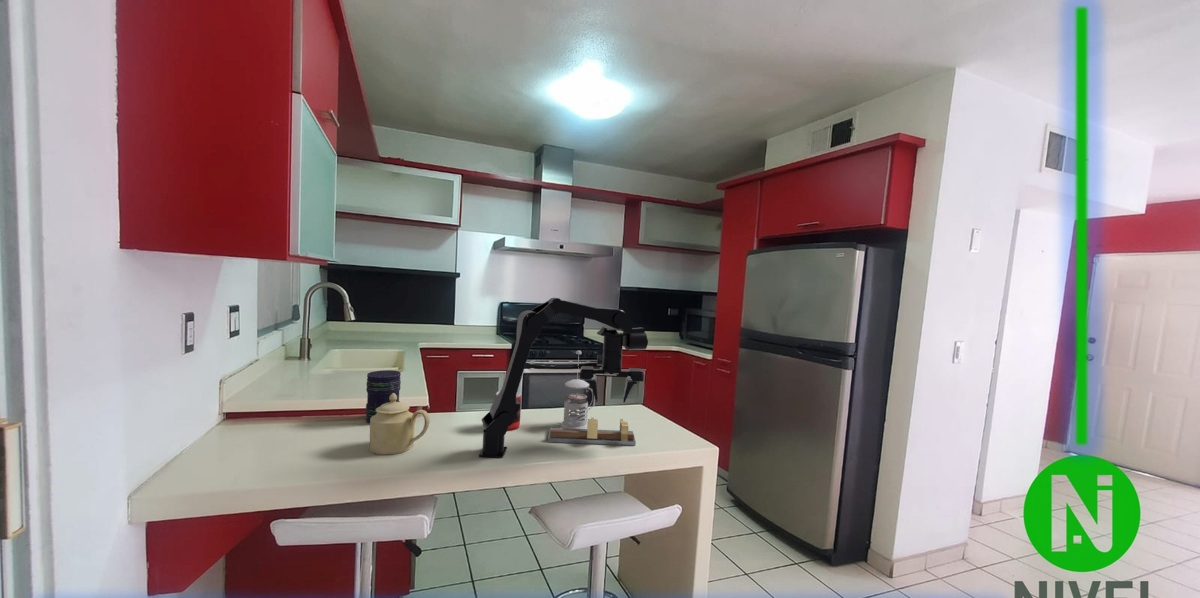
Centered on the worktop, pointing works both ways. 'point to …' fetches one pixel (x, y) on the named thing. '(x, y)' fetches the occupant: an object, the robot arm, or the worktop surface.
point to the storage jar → (381, 390)
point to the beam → (621, 435)
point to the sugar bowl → (394, 428)
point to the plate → (590, 440)
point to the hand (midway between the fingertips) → (610, 402)
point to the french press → (576, 405)
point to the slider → (592, 428)
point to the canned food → (517, 421)
